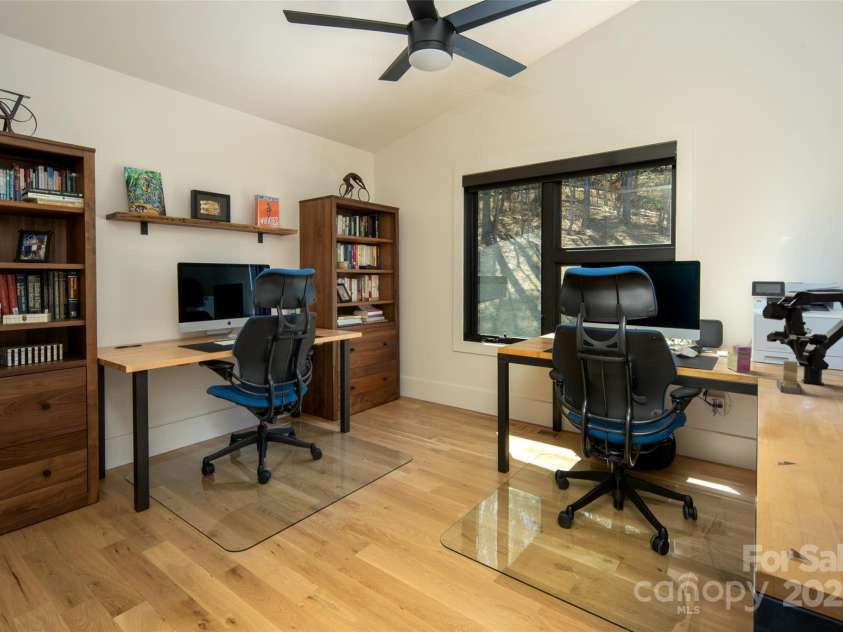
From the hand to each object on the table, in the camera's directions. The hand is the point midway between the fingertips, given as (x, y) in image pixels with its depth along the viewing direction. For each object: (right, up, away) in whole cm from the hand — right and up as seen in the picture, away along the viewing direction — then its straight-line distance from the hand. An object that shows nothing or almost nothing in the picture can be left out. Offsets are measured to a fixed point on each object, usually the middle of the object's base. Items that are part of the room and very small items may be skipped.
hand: (799, 358), depth 181 cm
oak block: (-7, -10, -5) cm, 13 cm away
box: (0, -9, +35) cm, 37 cm away
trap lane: (-7, -12, -3) cm, 14 cm away
